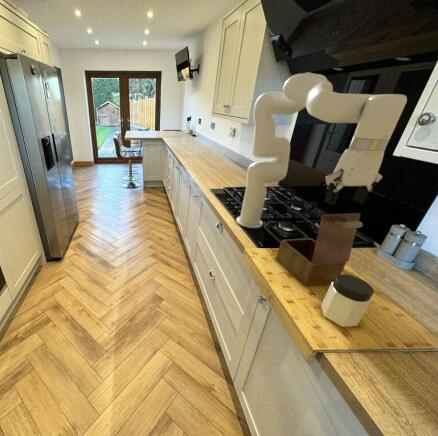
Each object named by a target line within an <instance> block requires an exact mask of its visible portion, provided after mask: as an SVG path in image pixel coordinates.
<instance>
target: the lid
mask: <svg viewBox="0 0 438 436" xmlns="http://www.w3.org/2000/svg"><path fill="white" fill-rule="evenodd" d="M360 218H361V213H360V212H353V213H352V212H350V213H349V212H348V213H327V214H321V218H320V223H319V228H318V232H317V237H316V240H315V241H316V246H315V250H314V255H313V260H312V264H324V263H336V262H346V263H348V262H349V261H350V257H351V252H352V248H353V246H354V241H355V237H356V234H357V230H358V229H359V228H362V227H363V225H364V224H363V222H362V221H360Z"/></svg>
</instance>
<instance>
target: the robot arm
mask: <svg viewBox="0 0 438 436" xmlns="http://www.w3.org/2000/svg"><path fill="white" fill-rule="evenodd" d="M333 90H334V86H333V84H332V82H331V81H329V80H328V78H327V77H326V76H325V75H323V74H319V73H297V74H294V75H291V76H290V77H289V78H288V79H287V80H286V81H285V82H284V84H283V87H282V91H280V90H279V91H277V90H276V91H267V92H264V93H262V94H261V95H259V96H258V98H257V99H256V101H255V103H254V106H253V122H254V131H253V141H252V155H253V157H254V158H255V159H256V158H257V159H271V160H270V161H269V160H266V161H265V160H263V161H255V162H252V163H250V164H249V166H248V167H247V170H246V186H245V190H244V195H243V196H244V197H243V201H242V206H241V209H240V215H239V216H237V217H236V220H235V221H236V223H237V224H238V225H239V226H241V227H244V228H247V229H259V228H262V227H263V221H262V220H261V217H262V214H263V210H264V205H265V202H266V197H267V192H268V191H267V187H266V184H265V183H274V182H281V181H282V180H284V179H285V178H286V176H287V174H288V168H289V162H290V155H291V154H290V153H291V144H290V140H289V139H288V138H287V137H284V136H276V129H277V126H276V122H275V120H274V117H272V115H293V114H296V113H298V112H301V111H302V110H303V109H305V108H306V111H307V113H308V114H309V116H312V117H314V118H317V119H318V120H320V121H323V122H324V123H325V122H326V123H330V124H357V126H356V128H355V131H354V133H353V136H352V139H351V141H350V144H349V147H348V148H346V149H345V150H344V151H343V152H342V154H341V156H340V158H339V159H338V162H337V163H336V166H335V168H334V170H333V172H332V173H330V174H328V175H326V176H325V186H326V189H327V193H326V196H325V198H324V202H325V203H327V204H329V205H331V206H334V205H336V202H337V199H338V198H339V194H340V190H341V189H343V188H344V187H358V188H357V189H356V191H355V193H354V195H353V198H352V201H353V202H356V203H357V204H360V205H363V204H365V201H366V199H367V197H368V195H369V193H370V192H371V191H373V188H374V187H376V186H377V185H378V183H379V182H380V181H381V180H382V179H383V175H381V174H380V173H379V171H380V168H381V165H382V162H383V159H384V156H385V151H386V148H387V146H388V144H389V141H390V140H391V137H392V135H393V133H394V132H395V129H396V126H397V124H398V121H399V120H400V118H401V115H402V114H403V111H404V108H405V106H406V104H407V101H408V98H407V95H405V94H399V93H398V94H397V93H385V94H384V93H382V94H380V93H379V94H370V93H340V92H336V91H333Z"/></svg>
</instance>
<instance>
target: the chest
mask: <svg viewBox="0 0 438 436" xmlns="http://www.w3.org/2000/svg"><path fill="white" fill-rule="evenodd" d="M316 241H317V240H314V239H313V238H312V237H307V238H305V237H304V238H291V239H289V238H288V239H281V241H280V244H279V246H278V250H277V253H276V256H275V260H276V261H278V263H280V264H281V266H283V267H284V268H285V269H286V270H287V271H288V272H289V273H290V274H291V275H292V276H293V277H294V278H295V279H296V280H297V281H298V282H299V283H300V284H301V285H302V286H304V287H305V286H317V285H328V284H331V283H332V282H334V280H335V278H336V277H337V276H338V275H341V274H342V273H343V271H344V268H345V267H346V265H347V262H336V263H324V264H312V260H313V255H314V250H315V246H316Z"/></svg>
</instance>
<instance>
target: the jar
mask: <svg viewBox="0 0 438 436" xmlns="http://www.w3.org/2000/svg"><path fill="white" fill-rule="evenodd" d="M374 293H375V289H374V288H373V286H372V285H371V284H369V283H368V282H367V281H365V280H364V279H362V278H360V277H357V276H354V275H351V274H345V273H343V274H342V273H341V275H338V276H337V277H336V278H335V280H334V282H332V283H330V285H329V287H328V289H327V292H326V294H325V295H324V298H323V300H322V303H321V305H320V307H321V310H322V313H323V316H324V318H327V319H328V320H330V321H331V322H333V323H335V324H336V325H338V326H340V327H341V328H346V327H357V326H359V324H360V322H361V320H362V318H363V316H364V315H365V314H366V311H367V310H368V308H369V306H370V304H371V303H372V300H371V298H372V297H373V295H374Z"/></svg>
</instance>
